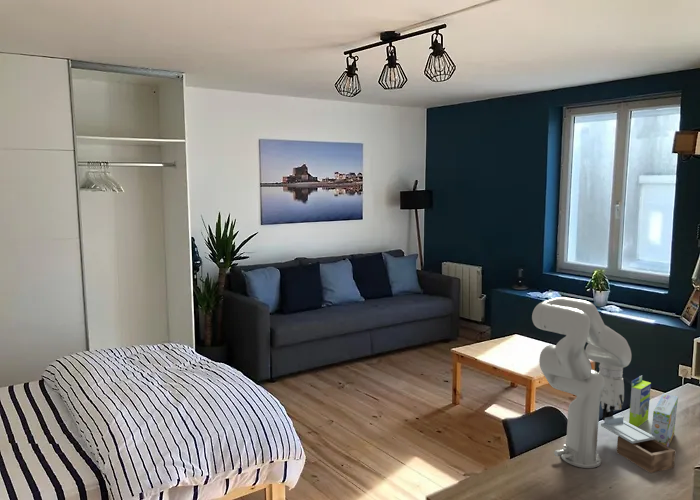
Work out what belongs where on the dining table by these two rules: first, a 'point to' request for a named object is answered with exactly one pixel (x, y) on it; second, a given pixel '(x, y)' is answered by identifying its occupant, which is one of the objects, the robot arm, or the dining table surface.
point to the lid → (626, 429)
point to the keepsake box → (647, 454)
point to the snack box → (664, 419)
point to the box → (639, 401)
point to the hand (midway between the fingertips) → (607, 420)
